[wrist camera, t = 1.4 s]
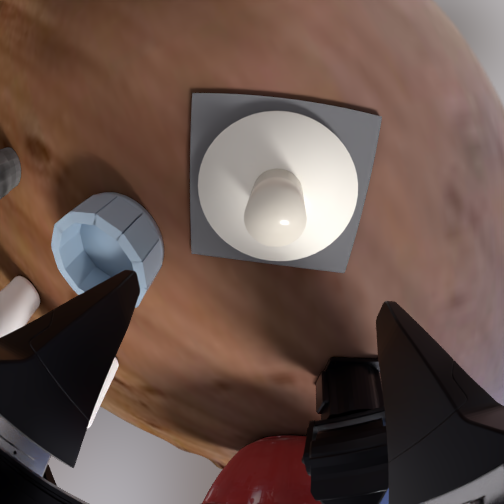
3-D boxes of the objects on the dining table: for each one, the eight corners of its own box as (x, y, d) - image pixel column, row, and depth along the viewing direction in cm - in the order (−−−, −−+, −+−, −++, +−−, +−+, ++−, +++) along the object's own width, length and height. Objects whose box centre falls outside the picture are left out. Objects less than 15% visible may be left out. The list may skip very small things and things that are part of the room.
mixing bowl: (206, 451, 51) (193, 509, 38) (228, 403, 35) (209, 503, 22) (323, 466, 52) (321, 520, 39) (395, 422, 36) (404, 502, 23)
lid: (368, 125, 15) (394, 137, 11) (337, 263, 21) (347, 306, 17) (203, 105, 16) (175, 111, 12) (201, 246, 22) (182, 285, 17)
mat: (379, 116, 15) (381, 116, 15) (343, 270, 22) (344, 273, 21) (194, 93, 16) (192, 93, 16) (193, 250, 22) (191, 253, 22)
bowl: (160, 194, 20) (136, 217, 17) (169, 289, 25) (153, 320, 21) (70, 189, 20) (41, 209, 17) (89, 274, 25) (69, 299, 22)
